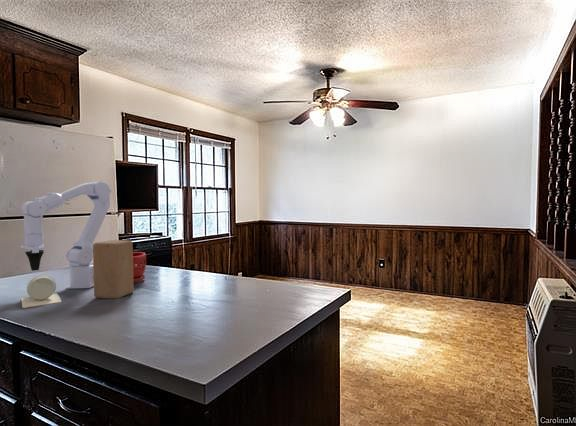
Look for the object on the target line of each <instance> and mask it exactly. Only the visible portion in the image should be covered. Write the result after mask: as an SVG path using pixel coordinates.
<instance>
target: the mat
mask: <svg viewBox="0 0 576 426" xmlns="http://www.w3.org/2000/svg"><path fill="white" fill-rule="evenodd" d="M20 299H21V300H20V301H21V307H22V309H27V308H33V307H37V306H38V307H39V306H46V305H51V304H52V305H53V304H60V303H63V302H62V300H61V297H60V296H59V294H58V293H53V295H52V296H50V297H49V298H47V299H44V300H35V299H33V298H31V297H30V296H29V297H28V296H27V297H22V298H20Z"/></svg>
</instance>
